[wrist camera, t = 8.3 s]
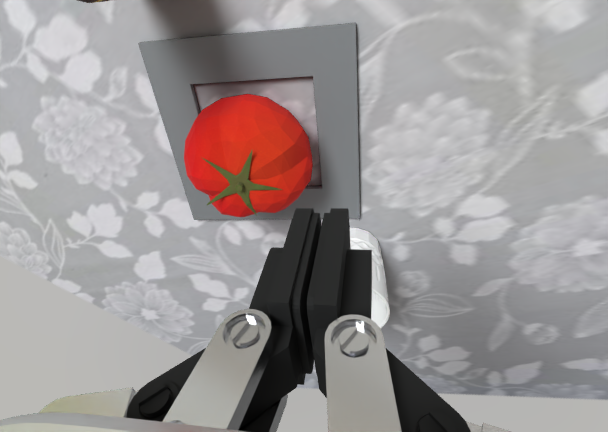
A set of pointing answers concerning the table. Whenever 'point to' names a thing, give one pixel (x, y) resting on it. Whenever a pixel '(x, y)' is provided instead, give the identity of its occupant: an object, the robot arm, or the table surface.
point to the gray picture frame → (267, 65)
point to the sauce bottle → (91, 0)
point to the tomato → (248, 155)
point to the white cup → (374, 274)
